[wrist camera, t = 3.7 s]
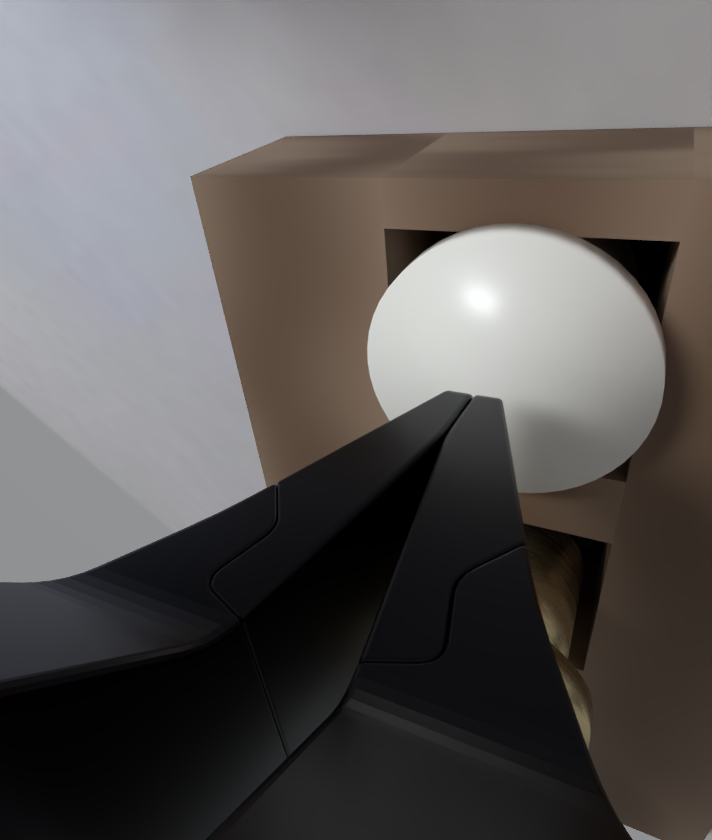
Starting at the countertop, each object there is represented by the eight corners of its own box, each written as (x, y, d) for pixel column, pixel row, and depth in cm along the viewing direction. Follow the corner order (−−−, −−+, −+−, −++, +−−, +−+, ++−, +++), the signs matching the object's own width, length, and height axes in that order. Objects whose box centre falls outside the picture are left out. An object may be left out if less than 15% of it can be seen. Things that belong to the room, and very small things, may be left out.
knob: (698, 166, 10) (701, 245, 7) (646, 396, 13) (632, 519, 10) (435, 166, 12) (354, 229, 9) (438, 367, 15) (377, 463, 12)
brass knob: (628, 504, 12) (608, 675, 9) (596, 643, 15) (572, 807, 12) (409, 459, 14) (334, 588, 11) (416, 589, 17) (358, 720, 14)
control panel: (986, 120, 9) (1108, 184, 6) (695, 735, 19) (695, 853, 16) (286, 136, 13) (190, 176, 11) (359, 622, 24) (319, 701, 21)
